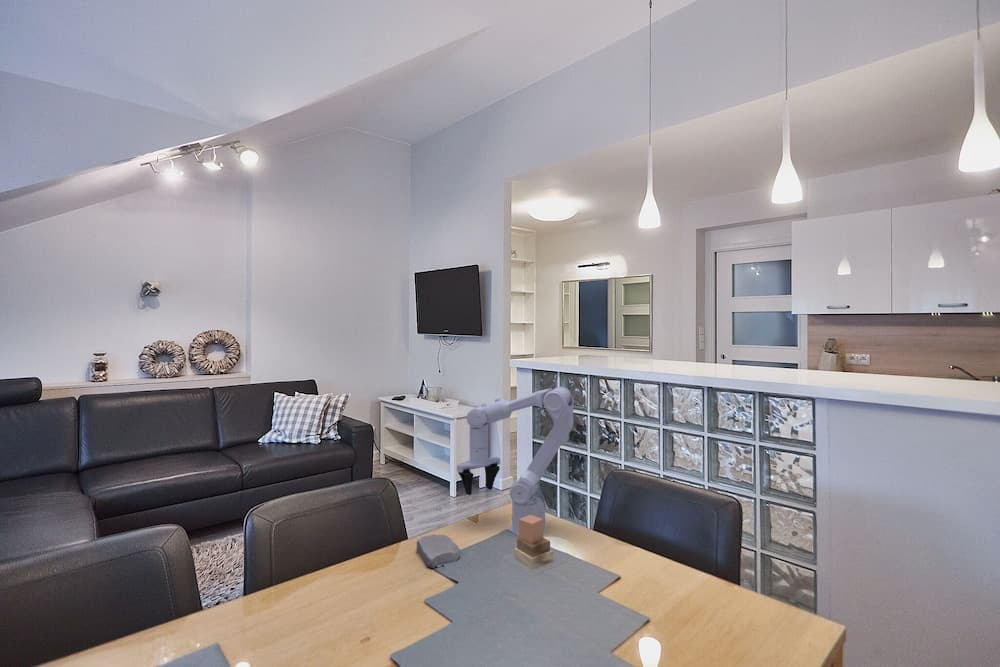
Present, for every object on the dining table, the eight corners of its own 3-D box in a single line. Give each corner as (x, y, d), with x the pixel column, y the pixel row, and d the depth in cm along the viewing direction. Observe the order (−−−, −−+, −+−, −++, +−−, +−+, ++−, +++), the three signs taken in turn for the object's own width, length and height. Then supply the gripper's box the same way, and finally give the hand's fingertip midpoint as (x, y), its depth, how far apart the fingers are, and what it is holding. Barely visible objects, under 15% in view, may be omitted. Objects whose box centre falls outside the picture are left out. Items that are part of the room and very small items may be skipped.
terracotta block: (530, 533, 130) (530, 514, 130) (543, 538, 127) (543, 519, 127) (518, 538, 127) (518, 519, 127) (532, 543, 124) (532, 524, 124)
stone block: (447, 550, 137) (412, 550, 132) (450, 533, 137) (416, 532, 133) (463, 571, 126) (426, 572, 122) (466, 552, 126) (430, 552, 122)
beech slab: (535, 550, 131) (535, 541, 131) (552, 560, 125) (553, 551, 125) (514, 557, 127) (514, 548, 127) (531, 568, 121) (531, 558, 121)
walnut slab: (534, 542, 130) (534, 533, 130) (550, 550, 126) (550, 541, 126) (517, 548, 127) (517, 538, 127) (532, 557, 122) (532, 547, 122)
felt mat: (536, 546, 135) (536, 544, 135) (567, 564, 125) (567, 561, 125) (500, 559, 128) (500, 556, 128) (530, 578, 118) (530, 576, 118)
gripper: (491, 441, 157) (491, 483, 157) (451, 447, 149) (451, 492, 149) (504, 445, 151) (504, 489, 152) (464, 452, 143) (464, 499, 143)
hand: (479, 491), depth 150 cm, fingers open, 7 cm apart
